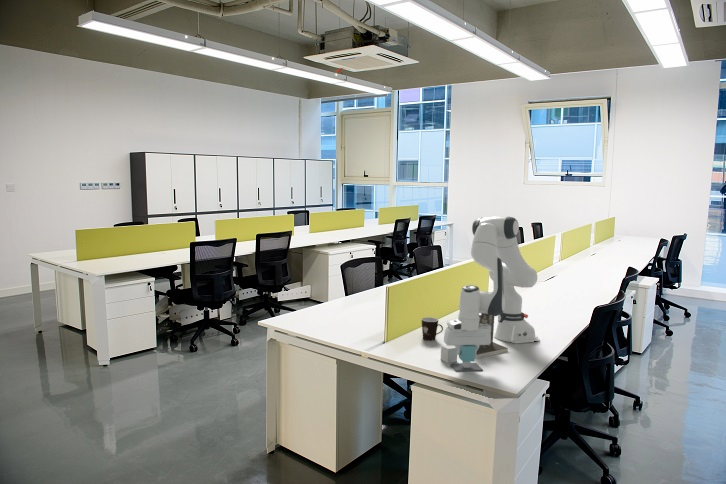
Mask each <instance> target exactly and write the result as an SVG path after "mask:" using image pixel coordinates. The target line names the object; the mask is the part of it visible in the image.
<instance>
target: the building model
mask: <svg viewBox="0 0 726 484" xmlns="http://www.w3.org/2000/svg"><path fill="white" fill-rule="evenodd" d="M479 323H483V324H485V323H488V324H489V325H490V326H491V332H490V334H491V343H490V344H489V345H479V349H478V350H477V352H476V355H475V358H476V359H478V358H483V357H488V355H489V356H493V355H498V354H501V353H507V352H508V351H509V348H508V347H506V346H504V345H501V344H498V343H496V342H493V341H494V330H495V329H494V327H495V325H494V324H495V316H492V315H488V314H483V313H480V314H479ZM489 325H488V326H489ZM474 346H475V345H474ZM475 347H476V346H475Z"/></svg>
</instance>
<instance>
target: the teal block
mask: <svg viewBox="0 0 726 484" xmlns="http://www.w3.org/2000/svg"><path fill="white" fill-rule="evenodd" d="M459 350H461V351H462V353H461V354H462V355H458V358H459V360H461V361H462V363H463V362H471V363H472V362H475V360H476V359H475V358H476V357H475V346H474V345H460V348H459Z"/></svg>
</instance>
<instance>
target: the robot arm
mask: <svg viewBox="0 0 726 484" xmlns="http://www.w3.org/2000/svg"><path fill="white" fill-rule="evenodd" d="M518 221H519V220H517V219H516V218H515V217H514V216H489V217H487V216H486V217H479V218H477V219H475V220H474V221H473V222H472V226H471V229H472V230H471V231H472V234H473V240H472V244H471V250H470V254H471V258H472V259H473V261H474V262H475V263H477V264H478V265H479V266H481V267H483V268H485V269H486V270H488V273H489V279H491V281H492V282H493V291H483V290H482V291H481V290H480V288H479V286H476V285H474V284H469V285H468V284H467V285H464V286H462V287H461V290H460V294H459V301H458V308H459V312H458V315H457V317H456V318H454V319H451V320H447V322H446V326H447V327H446V328H445V330H444V335H443V342H444V345H448V346H455V347H456V349H457V356H459V355H462V354H461V353H462V351H461V350H459V348H460V345H475V346H476V347H475V355H476V352H477V350H478V349H479V345H489V344H490V343H491V334H490V332H491V326H490V325H489V324H488V323H485V324H483V323H479V315H480V314H481V313H483V314H488V315H492V316H494V317H497V326H496V330H495V333H494V334H493V337H494V338H495V339H497V340H500V341H504V342H506V343H507V342H508V343H512V344H526V343H535V342H534V341H538V342H540V338H539V336H538V335H536V331H535V327H534V326H532V324H530V323H529V322H528V321H527V319H528V318H529V315H528V314H527V313H524V312H522V308H523V298H522V295H520V293H518V291H517V290H516V289H515V287H518V288H525V289H527V288H533V287H534V286H535V285H536V284H537V281H538V274H537V271H536V270H535V268H533V267H531V266H530V265H529V263H527V261H526V260H525V259H524V258H523V256H522V253H521V251H520V247H519V243H518V239H517V236H518V235H519V229H520V228H519V227H520V225H519V222H518ZM488 325H489V326H488Z"/></svg>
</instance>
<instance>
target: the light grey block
mask: <svg viewBox="0 0 726 484" xmlns="http://www.w3.org/2000/svg"><path fill="white" fill-rule="evenodd" d="M440 346H441V347H440V361H443V362H444V363H446V364H450V363H458V355H457V349H456V347H455V346H448V345H446V344H442V345H440Z"/></svg>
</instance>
